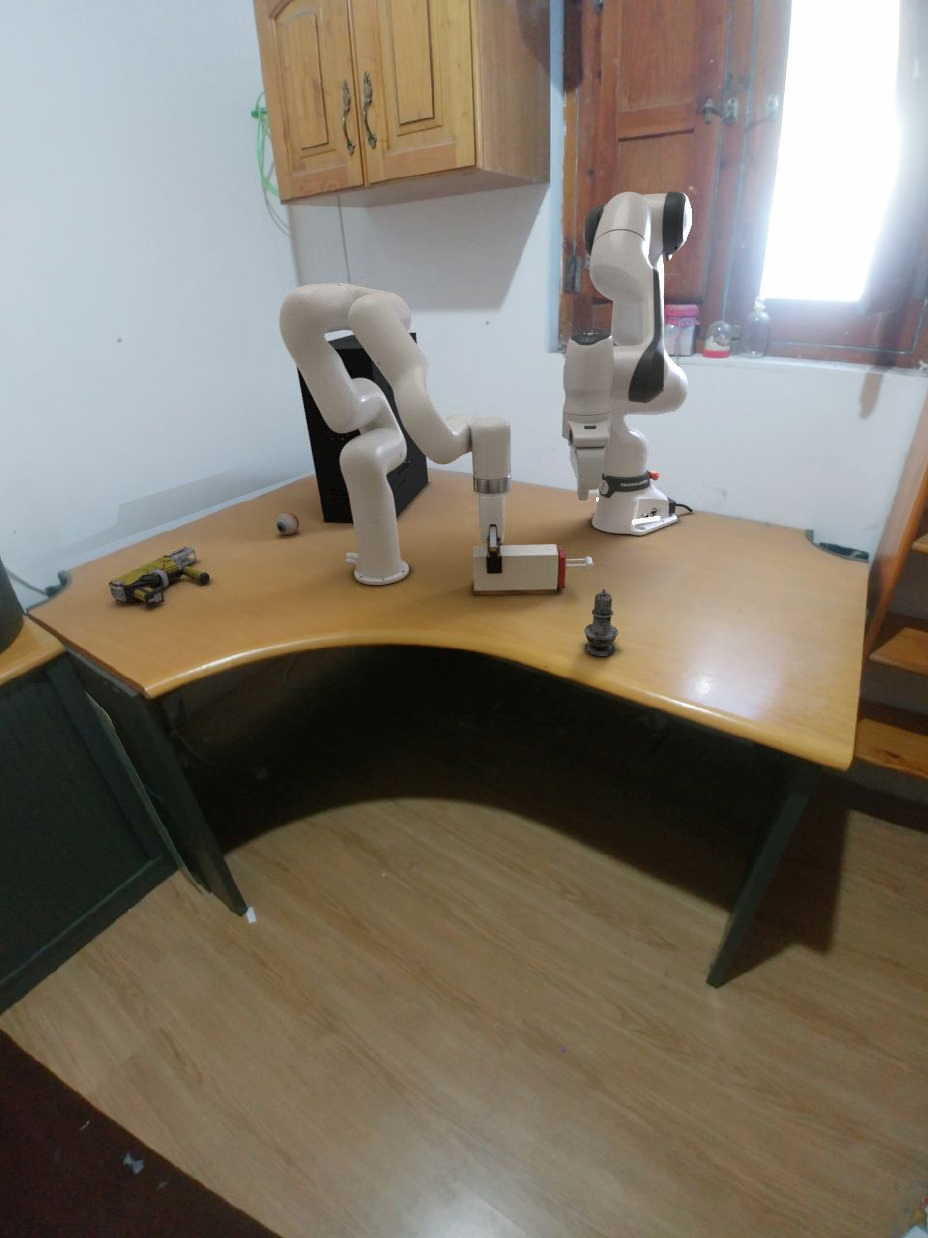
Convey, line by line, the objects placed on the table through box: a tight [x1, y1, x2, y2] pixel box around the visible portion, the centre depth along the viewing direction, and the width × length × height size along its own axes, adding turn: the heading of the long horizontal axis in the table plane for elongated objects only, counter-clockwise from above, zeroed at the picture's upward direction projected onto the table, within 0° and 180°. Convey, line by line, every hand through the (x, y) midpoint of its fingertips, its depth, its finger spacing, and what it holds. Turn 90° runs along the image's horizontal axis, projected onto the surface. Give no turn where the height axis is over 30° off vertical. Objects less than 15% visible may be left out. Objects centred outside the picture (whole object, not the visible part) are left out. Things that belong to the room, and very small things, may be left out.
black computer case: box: [295, 332, 429, 523], centre depth 175 cm, size 38×20×45 cm, turn 167°
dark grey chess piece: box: [583, 588, 619, 657], centre depth 105 cm, size 6×6×12 cm
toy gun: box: [108, 545, 211, 609], centre depth 140 cm, size 5×24×15 cm
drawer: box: [557, 548, 595, 589], centre depth 128 cm, size 22×4×7 cm, turn 87°
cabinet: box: [472, 543, 558, 596], centre depth 128 cm, size 18×6×9 cm, turn 87°
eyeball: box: [275, 511, 300, 536], centre depth 163 cm, size 6×6×6 cm
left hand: (494, 565), depth 128 cm, fingers closed on cabinet, 5 cm apart
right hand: (582, 497), depth 120 cm, fingers closed
